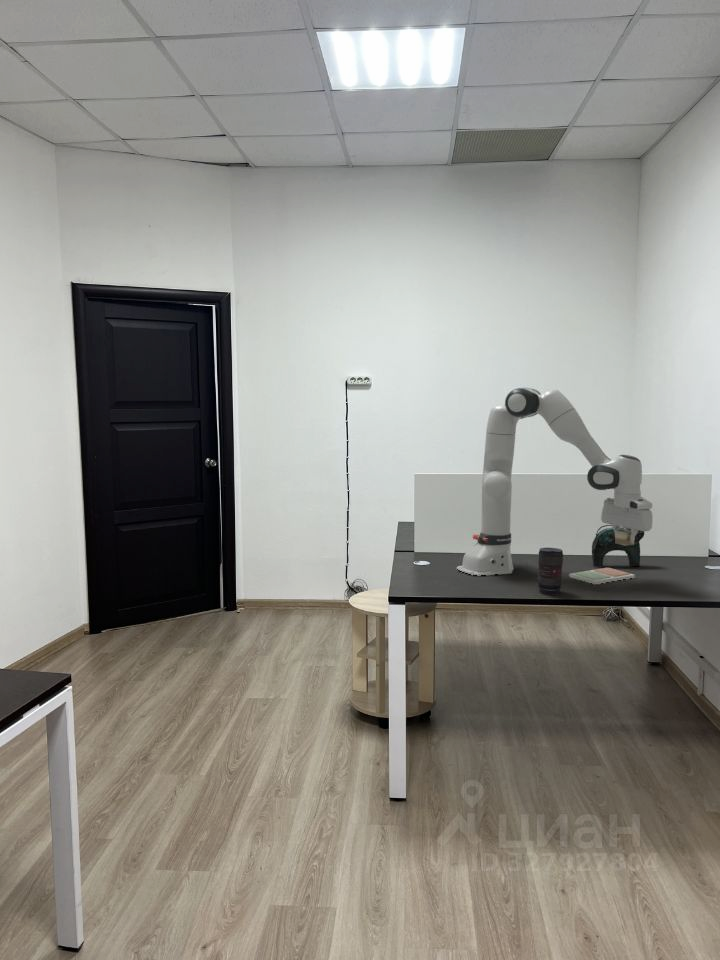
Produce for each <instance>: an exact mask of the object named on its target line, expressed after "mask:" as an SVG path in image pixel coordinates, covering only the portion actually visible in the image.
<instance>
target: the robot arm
mask: <svg viewBox="0 0 720 960" xmlns="http://www.w3.org/2000/svg"><path fill="white" fill-rule="evenodd" d="M536 415H539V416H541V417H542V418H543V419H544V421H545V422H546V424H547V425H548V427H549V428H550V430H551V431H552V433H554V434H555V435H556V437H558V439H560V440H561V441H564V442H566V443H569V444H571V445H573V446H574V447H576V448H577V449H578V450H579V451H580V452H581V454H582V455H583V456H584V458H585V459H586V460H587V461H588V463H589V464H590V466H591V468H590V469H588V472H587V475H586V477H587V478H586V479H587V482H588V484H589V486H591V488H592V489H595V490H597V491H607V490H611V489H612V490H613V491H614V493H613V495H614V496H613V498H611V497H607V498H605V500H603V506H602V510H601V517H600V519H601V522H602V523H603V524H606V525H613V526H612V527H613V529H614V532H615V535H616V531H619V528H620V527H625V528H630V529H631V532H632V533H631V535H630V536H628V541H634V540H635V536H636V534H637V533H638V530H640V531H644V532H649V531H651V529H653V511H652V510H651V509H653V503H652V502H651V501H649V500H647V499H646V498H644V497H642V492H641V484H642V482H643V481H642V480H643V469H642V468H643V466H642V462H641V460H640V459H639V458H637V456H634V455H633V456H632V455H629V454H628V455H627V454H619V455H618V456H616V457H615V458H612V459H611V458H609V457H608V456H607V455H606V454H605V453H604V451H603V450H602V448H601V447H600V446H599V445H598V443H597V442H596V440H595V439H594V438H593V437H592V435H591V434H590V432H589V429H588V428H587V426H586V425H585V423H584V421H583V419H582V417H581V416H580V414H579V413H578V411H577V409H576V408H575V407H574V405H573V404H572V403H571V402H570V400H569V399H568V398H567V397H566V396H565V395H564V394H563V393H562V392H561V391H560V390H558V389H555V388H554V389H548V390H547V391H545V392H543V393H541V392H540V391H539V390H537V389H534V388H531V387H518V388H514V389H513V390H511V391H510V392H509V393H508V394H507V395H506V397H505V400H504V403H503V404H502V403H500V404H496V405H495V406H493V407H492V408H491V409H490V411H489V415H488V419H487V425H486V430H485V431H486V433H485V443H484V445H485V446H484V456H483V467H482V468H483V469H482V478H481V479H482V481H481V482H482V483H481V526H480V527H481V529H480V530H481V531H480V533H479V534H477V533H474V534H472V539H473V540H477V543H475V544H474V545H473V546H472V547H471V548H470V549H469V550H468V551H467V552H465V554H464V555H463V558H462V565H458V566H456V570H457V569H458V570H460V571H462V572H465V573H468V574H471V575H470V576H473V575H477V576H476V577H482V576H481V575H486V576H495V574H498V575H508V574H513V571H514V566H513V560H512V552H511V551H512V550H511V543H512V533H511V517H512V516H511V513H512V511H511V510H512V493H513V492H512V491H513V490H512V487H513V486H512V472H513V463H514V455H515V444H516V431H517V425H518V422H519V421H520V420H521V419H522V420H523V419H525V418H532V417H535V416H536ZM458 570H457V571H458ZM462 572H461V573H462ZM465 573H464V574H465ZM468 574H467V575H468Z"/></svg>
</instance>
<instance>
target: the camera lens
mask: <svg viewBox="0 0 720 960" xmlns="http://www.w3.org/2000/svg"><path fill="white" fill-rule="evenodd" d="M563 563H564V553H563V549H561V548H557V547H540V548H539V551H538V575H537V584H538V589H539V592H540V593H541V594H543V593H544V595H551V594H552V595H558V594H560V591H561V588H562V584H563V583H562V582H563V581H562V580H563V579H562V577H563V576H562V575H563Z"/></svg>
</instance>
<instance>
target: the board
mask: <svg viewBox="0 0 720 960" xmlns="http://www.w3.org/2000/svg"><path fill="white" fill-rule="evenodd" d="M568 576H569V578H572V579H574V578H575V580H578V581H581V580H582V582H584V581H585V583H589V584H591V583H592V584H591V585H595V586H596V584H597V585H602V584H601V583H603V584H607V583H606V582H609V583H612V582H611V581H615V582H618V581H617V580H621V581H624V580H623V579H626V580H631V579H630V578H632V579H636V574H633V573H629V572H626V571H623V570H620V569H615V568H611V567H604V568H603V567H602V568H598V569H590V570H585V571H578V572H572V573H569V574H568Z"/></svg>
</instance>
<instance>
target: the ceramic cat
mask: <svg viewBox="0 0 720 960" xmlns="http://www.w3.org/2000/svg"><path fill="white" fill-rule="evenodd" d="M605 527H606V528H605ZM608 527H609V528H608ZM602 528H603V529H602ZM601 529H602V530H601ZM619 530H627V531H631V529H630V528H626V527H621V526H620V528H619ZM644 536H645V531H640V530H638V533H637V534H636V536H635V540H634V545H626V546H624V545H620V544H616V543H615V532H614V529H613V525H612V524H605V525H602V526H600V527H598V529H597V531H596V533H595V536H594V538H593V541H592V544H591V556H592V565H594V566H593V567H595V566H603V567H604V558H605V556H606V555H607V554H608V553H610V552H613V551H621V552H625V554H626V556H627V558H628V565H629V567H631V566H639V567H640V565H641V544H640V541H641V540H642V539H643V538H644Z"/></svg>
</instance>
